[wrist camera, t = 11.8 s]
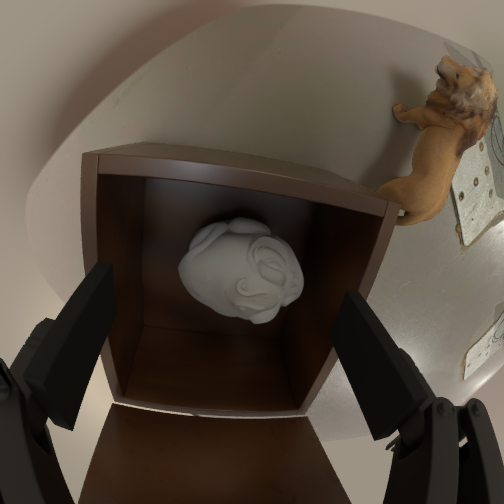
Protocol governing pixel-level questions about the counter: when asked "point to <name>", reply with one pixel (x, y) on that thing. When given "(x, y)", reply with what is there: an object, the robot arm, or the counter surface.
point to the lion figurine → (442, 138)
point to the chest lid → (208, 461)
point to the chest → (200, 315)
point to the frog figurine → (241, 270)
